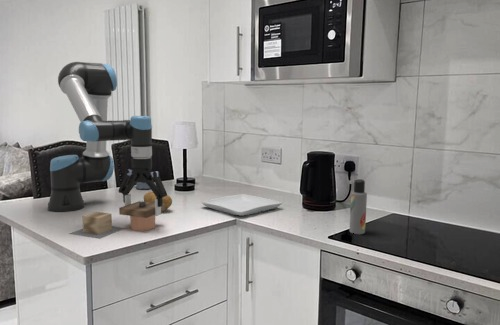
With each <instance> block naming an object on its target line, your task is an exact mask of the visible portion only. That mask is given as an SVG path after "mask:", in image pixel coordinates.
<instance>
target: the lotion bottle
mask: <svg viewBox="0 0 500 325" xmlns="http://www.w3.org/2000/svg"><path fill="white" fill-rule="evenodd" d="M353 183H354V184H353V191H351V193H350V207H349V208H350V212H349V232H350V234H353V233H354V234H355V235H363V234H365V233H366V219H367V217H366V216H367V202H368V201H367V200H368V199H367V198H368V197H367V195H368V193H367V192H365V190H366V181H365V180H364V179H360V178H358V179H354V181H353Z"/></svg>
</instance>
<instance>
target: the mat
mask: <svg viewBox="0 0 500 325" xmlns="http://www.w3.org/2000/svg"><path fill="white" fill-rule="evenodd" d="M124 229H126V227H122V226H121V227H120V226H114V225H112V230H109V231H107V232H104V233H101V234H99V235H98V234H92V233H85V232H83V228H81V229H78V230H75V231H72V232H69V233H68V235H74V236H79V237H80V236H81V237H86V238H92V239H99V240H101V239H103V238H105V237H108V236H109V235H112V234H115V233H117V232H120V231H122V230H124Z"/></svg>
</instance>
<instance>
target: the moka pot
mask: <svg viewBox="0 0 500 325" xmlns="http://www.w3.org/2000/svg"><path fill="white" fill-rule="evenodd" d="M150 158H153V157H152V156H151V157H150ZM135 186H136V187H135V188H136V190H148V189H150V187H149V186H148V184H146V183H142V182H137V183H136V184H135ZM150 190H151V189H150Z"/></svg>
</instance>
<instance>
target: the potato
mask: <svg viewBox="0 0 500 325" xmlns="http://www.w3.org/2000/svg"><path fill="white" fill-rule="evenodd" d="M155 198H157V197H156V196H155V194H154V193H153V191H148V192H146V193H145V194H144V195H143V201H144V202H150V203H155ZM162 202H163V203H162V204H165V211H166V210H167V209H169V208H170V207H171V206H172V204H173V198H172V197H171V196H170V195H169V194H167V196H165V197H163V198H162Z"/></svg>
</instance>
